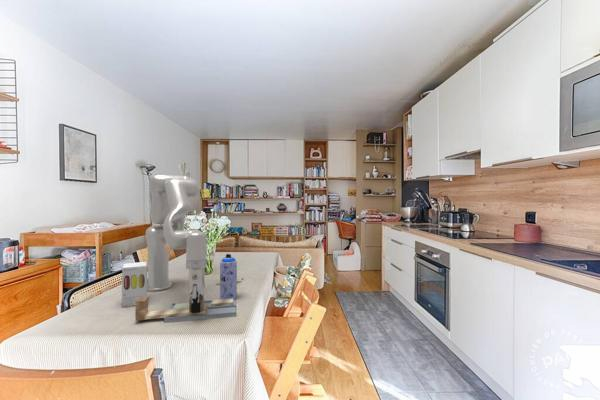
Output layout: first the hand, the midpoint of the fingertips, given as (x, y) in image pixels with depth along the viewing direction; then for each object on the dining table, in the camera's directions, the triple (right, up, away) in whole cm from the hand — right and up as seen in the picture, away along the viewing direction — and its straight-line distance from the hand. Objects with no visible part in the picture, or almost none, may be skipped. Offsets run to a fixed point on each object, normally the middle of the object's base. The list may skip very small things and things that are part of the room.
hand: (196, 309), depth 114 cm
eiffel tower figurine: (+2, -2, +45) cm, 45 cm away
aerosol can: (+8, -2, +20) cm, 22 cm away
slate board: (+1, -2, +4) cm, 5 cm away
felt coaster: (-8, -2, +6) cm, 11 cm away
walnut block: (0, 0, 0) cm, 0 cm away
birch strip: (-8, -1, -2) cm, 9 cm away
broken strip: (+4, -2, +9) cm, 10 cm away
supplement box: (-32, -2, +14) cm, 35 cm away
